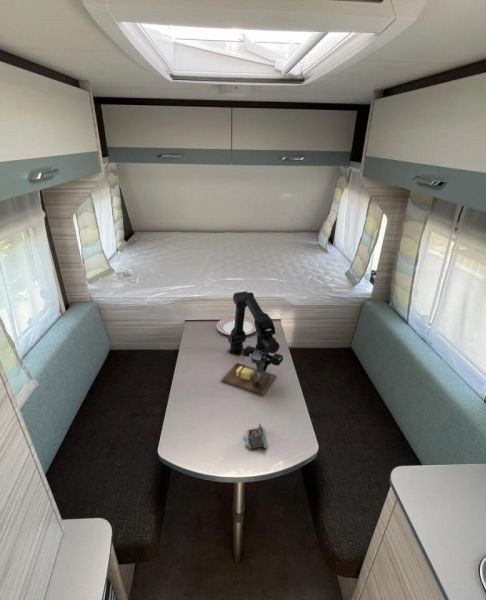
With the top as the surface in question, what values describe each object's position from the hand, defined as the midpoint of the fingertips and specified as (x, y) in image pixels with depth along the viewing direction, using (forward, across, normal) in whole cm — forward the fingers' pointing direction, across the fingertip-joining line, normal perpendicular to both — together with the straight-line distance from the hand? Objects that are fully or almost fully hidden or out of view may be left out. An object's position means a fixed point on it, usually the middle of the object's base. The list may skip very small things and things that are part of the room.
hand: (262, 370), depth 158 cm
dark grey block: (+4, 0, 0) cm, 4 cm away
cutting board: (+8, -7, 0) cm, 11 cm away
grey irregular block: (+8, +12, -33) cm, 36 cm away
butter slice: (+6, -12, 0) cm, 14 cm away
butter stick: (+6, -8, 0) cm, 10 cm away
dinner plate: (+8, -37, +44) cm, 58 cm away
